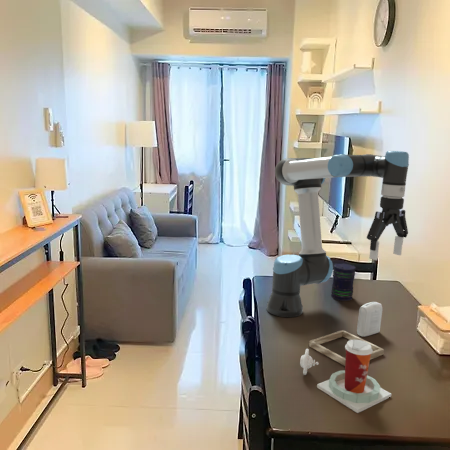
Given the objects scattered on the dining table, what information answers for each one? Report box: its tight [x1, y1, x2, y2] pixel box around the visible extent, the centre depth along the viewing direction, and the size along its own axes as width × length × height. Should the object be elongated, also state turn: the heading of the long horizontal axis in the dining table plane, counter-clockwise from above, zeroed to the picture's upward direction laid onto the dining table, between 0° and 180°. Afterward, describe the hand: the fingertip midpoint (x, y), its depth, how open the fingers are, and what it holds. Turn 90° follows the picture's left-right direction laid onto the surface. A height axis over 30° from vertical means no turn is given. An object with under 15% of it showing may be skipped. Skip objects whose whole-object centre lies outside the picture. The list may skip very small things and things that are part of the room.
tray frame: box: [308, 329, 385, 367], centre depth 161 cm, size 18×18×2 cm
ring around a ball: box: [299, 348, 319, 376], centre depth 144 cm, size 8×6×8 cm
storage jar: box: [330, 262, 356, 302], centre depth 213 cm, size 10×10×15 cm
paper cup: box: [344, 339, 373, 393], centre depth 134 cm, size 8×8×14 cm
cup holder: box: [316, 369, 392, 414], centre depth 135 cm, size 15×15×3 cm
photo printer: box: [356, 301, 384, 337], centre depth 175 cm, size 10×4×12 cm, turn 123°
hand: (385, 256), depth 161 cm, fingers open, 13 cm apart
